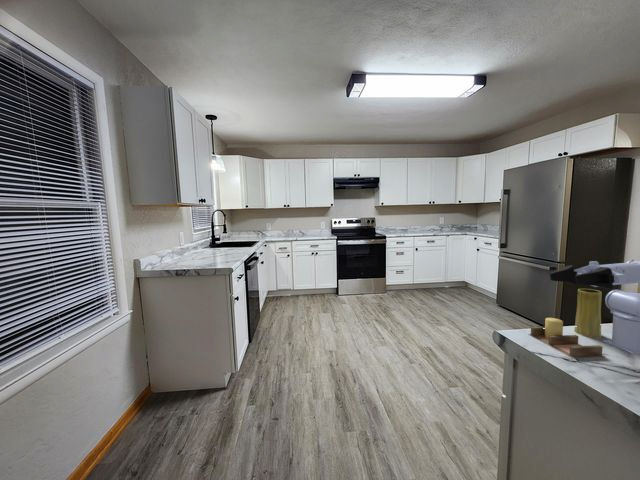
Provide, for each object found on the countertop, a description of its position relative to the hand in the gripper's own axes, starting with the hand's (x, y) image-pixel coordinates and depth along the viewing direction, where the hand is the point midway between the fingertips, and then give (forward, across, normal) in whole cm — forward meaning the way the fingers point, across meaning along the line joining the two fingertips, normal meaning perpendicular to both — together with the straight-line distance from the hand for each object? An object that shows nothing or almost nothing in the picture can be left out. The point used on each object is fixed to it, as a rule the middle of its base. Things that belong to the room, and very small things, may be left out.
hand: (563, 278), depth 73 cm
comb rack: (-2, -4, +20) cm, 21 cm away
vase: (-15, -11, +20) cm, 28 cm away
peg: (-1, -8, +19) cm, 21 cm away
